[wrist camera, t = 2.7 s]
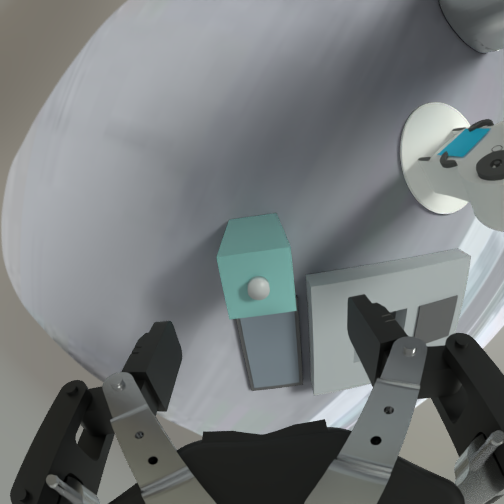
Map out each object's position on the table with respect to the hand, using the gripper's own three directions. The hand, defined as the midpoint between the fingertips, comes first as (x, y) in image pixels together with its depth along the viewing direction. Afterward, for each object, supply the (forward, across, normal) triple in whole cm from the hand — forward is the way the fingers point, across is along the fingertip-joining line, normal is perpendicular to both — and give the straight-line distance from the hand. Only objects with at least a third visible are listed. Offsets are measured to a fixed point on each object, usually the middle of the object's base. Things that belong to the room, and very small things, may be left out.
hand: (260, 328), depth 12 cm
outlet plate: (+13, -13, +11) cm, 21 cm away
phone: (+14, 0, +12) cm, 18 cm away
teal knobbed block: (+13, 0, 0) cm, 13 cm away
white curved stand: (+13, -20, -6) cm, 25 cm away
